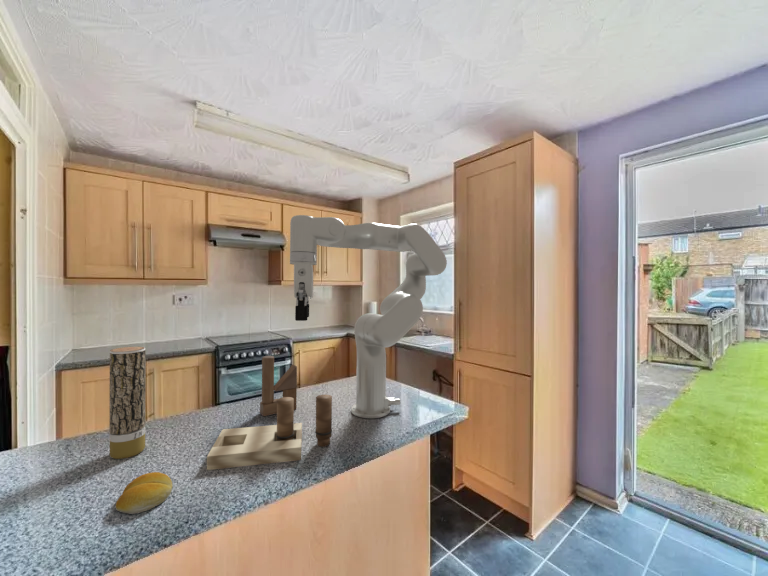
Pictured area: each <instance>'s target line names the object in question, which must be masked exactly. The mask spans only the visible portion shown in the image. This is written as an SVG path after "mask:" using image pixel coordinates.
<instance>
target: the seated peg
mask: <svg viewBox="0 0 768 576" xmlns="http://www.w3.org/2000/svg"><path fill="white" fill-rule="evenodd" d="M277 399H278V400H277V414H276V425H277V434H276V437H277V441H284V440H293V436H294V431H293V430H294V419H295V418H294V416H295V415H294V414H295V413H294V411H295V410H294V398H292V397H283V396H282V397H279V398H277Z"/></svg>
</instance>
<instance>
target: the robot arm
mask: <svg viewBox="0 0 768 576" xmlns="http://www.w3.org/2000/svg"><path fill="white" fill-rule="evenodd" d="M289 231H290V235H289V237H290V238H289V265H293V294H294V295H293V296H294V298H295V299H296V301H295V308H294V309H295V313H294V317H295V318H294V319H295V321H297V322H298V321H299V322H301V321H303V322H306V321H308V318H310V302H309V299H313V298H314V266H316V265H317V259H318V258H317V257H318V256H317V255H318V249H317V248H318V246H319V247H320V246H321V247H325V248H339V249H355V250H372V251H373V250H374V251H384V252H385V251H386V252H387V251H388V252H396V253H400V252H401V253H404V252H411V251H413V253H412V254H410V255H409V256H408V257H407V259H406V262H405V278H404V280H403V282H402V283H400V285H398V286H397V287H396V288H395V289H394V290H393V291H392V292H390V294H388V295H387V296H386V297H384V298H383V300H382V301H381V303H380V306H379V311H380V314H379V313H373V312H372V313H371V312H370V313H369V312H368V313H364V314H362V315H361V316H359V317H358V318H357V319H356V322H355V324H354V330H353V331H354V338H355V347H356V348H355V349H356V371H355V372H356V375H355V376H356V379H355V380H356V387H355V388H356V389H355V390H356V392H355V394H356V398H355V403H354V404H353V405H352V406H351V414H352V415H354V416H355V417H358V418H363V419H379V418H383V417H387V416H388V415H390V412H391V406H399V405H401V399H400V398H395V397H394V396H392V397H388V396H387V395H386V394H387V393H386V391H387V387H386V386H387V353H386V352H387V351H386V348H390V347H392V346H394V345H396V344H397V343H398V342H399V341H400V340H402V338H403V337H405V336H406V335H407V333H408V332H410V330H411V329H412V328H414V326H415V325H416V324H417V323H418V322H419V320H420V319H421V317H422V316H423V315H422V314H423V312H424V309H423V308H424V306H423V305H424V304H423V302H422V300H421V299H422V298H423V297H424V295H425V294H426V288H427V277H426V276H438V275H441V274H442V273H443V272H444V271H445V270H446V268H447V264H448V263H447V257H446V255H445V253H444V251H443V249H442V248H441V247H440V246H439V245H438V244H437V242H436V241H435V240H434V238H433V237H432V236H431V235H430V234H429V233H428V232H427V230H426V229H425V228H424V227H423V226H421V225H420V224H418V223H409V224H406V225H401V226H400V225H392V224H386V223H385V224H384V223H378V222H364V223H359V224H351V225H350V224H349V225H348V224H347V225H346V224H345V223H344V222H343V221H342V220H341V219H340V218H337V217H332V216H331V217H329V216H325V217H320V216H319V217H315V216H311V215H304V214H298V215H293V216H292V217H291V219H290V229H289Z"/></svg>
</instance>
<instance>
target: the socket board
mask: <svg viewBox="0 0 768 576" xmlns="http://www.w3.org/2000/svg"><path fill="white" fill-rule="evenodd" d="M293 431H294V436H293V440H284V441H277V437H276V434H277V424H270V425H260V426H259V425H258V426H248V427H235V428H224V429H221V431H220V433H219V435H218V436H217V438H216V440H215V442H214V444H213V445H212V447H211V448H210V451H209V452H208V454H207V456H206V471H213V470H221V469H222V470H223V469H230V468H238V467H239V468H240V467H248V466H249V467H250V466H257V465H259V466H260V465H268V464H275V463H276V464H278V463H284V462H285V463H286V462H294V461H295V462H296V461H302V447H303V446H302V444H303V441H302V440H303V437H302V436H303V422H297V423H294V430H293Z"/></svg>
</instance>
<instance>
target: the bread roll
mask: <svg viewBox="0 0 768 576" xmlns="http://www.w3.org/2000/svg"><path fill="white" fill-rule="evenodd" d="M173 488H174V487H173V481H172V479H171V478H170V476H169V475H167V474H166V473H163V472H160V471H154V472H153V471H152V472H148V473H147V472H146V473H144V474H142V475H139V476H137V477H136V478H134V479H133V480H132V481H130V482H129V483H128V484H127V485H126V486H125V488H124V489H123V492H122V494H121V495H120V496H119V497H118V499H117V500H116V503H115V509H116V511H118V512H120V513H123V514H130V515H135V514H136V515H137V514H141V513H144V512H147V511H149V510H152V509H154V508H156V507H157V506H159V505H160V504H163V503H164V502H165V501H166V500H167V499H168V498H169V496H170V495H171V493H172V491H173ZM155 506H156V507H155Z"/></svg>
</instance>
